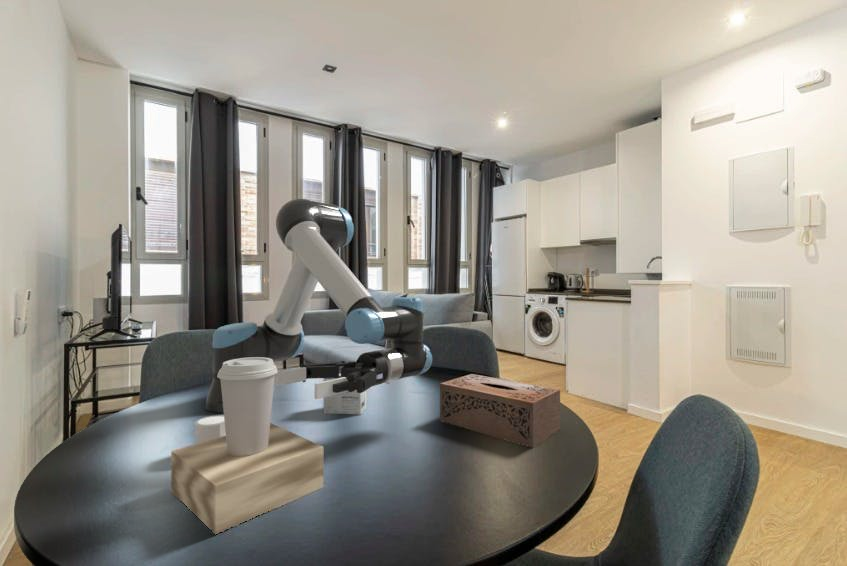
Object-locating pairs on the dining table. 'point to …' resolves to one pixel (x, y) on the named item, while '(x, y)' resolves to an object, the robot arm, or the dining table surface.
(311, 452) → the riser block
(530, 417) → the tissue box cover
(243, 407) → the coffee cup
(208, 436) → the shot glass
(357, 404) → the light bulb box
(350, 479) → the dining table surface
